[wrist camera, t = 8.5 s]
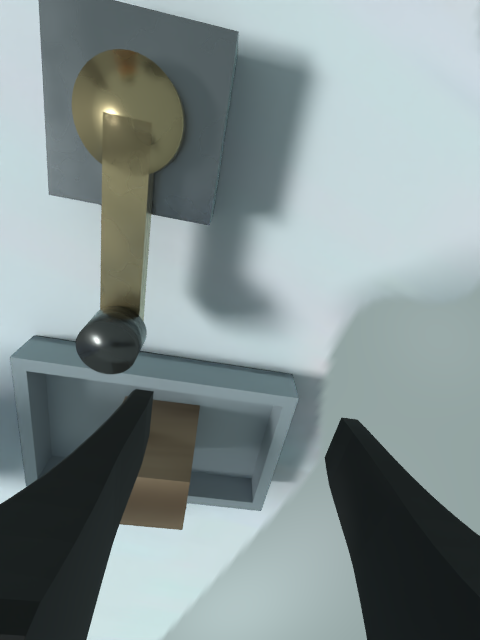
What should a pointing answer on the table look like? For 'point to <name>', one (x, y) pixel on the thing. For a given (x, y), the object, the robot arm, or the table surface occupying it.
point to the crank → (124, 190)
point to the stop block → (164, 468)
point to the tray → (168, 385)
